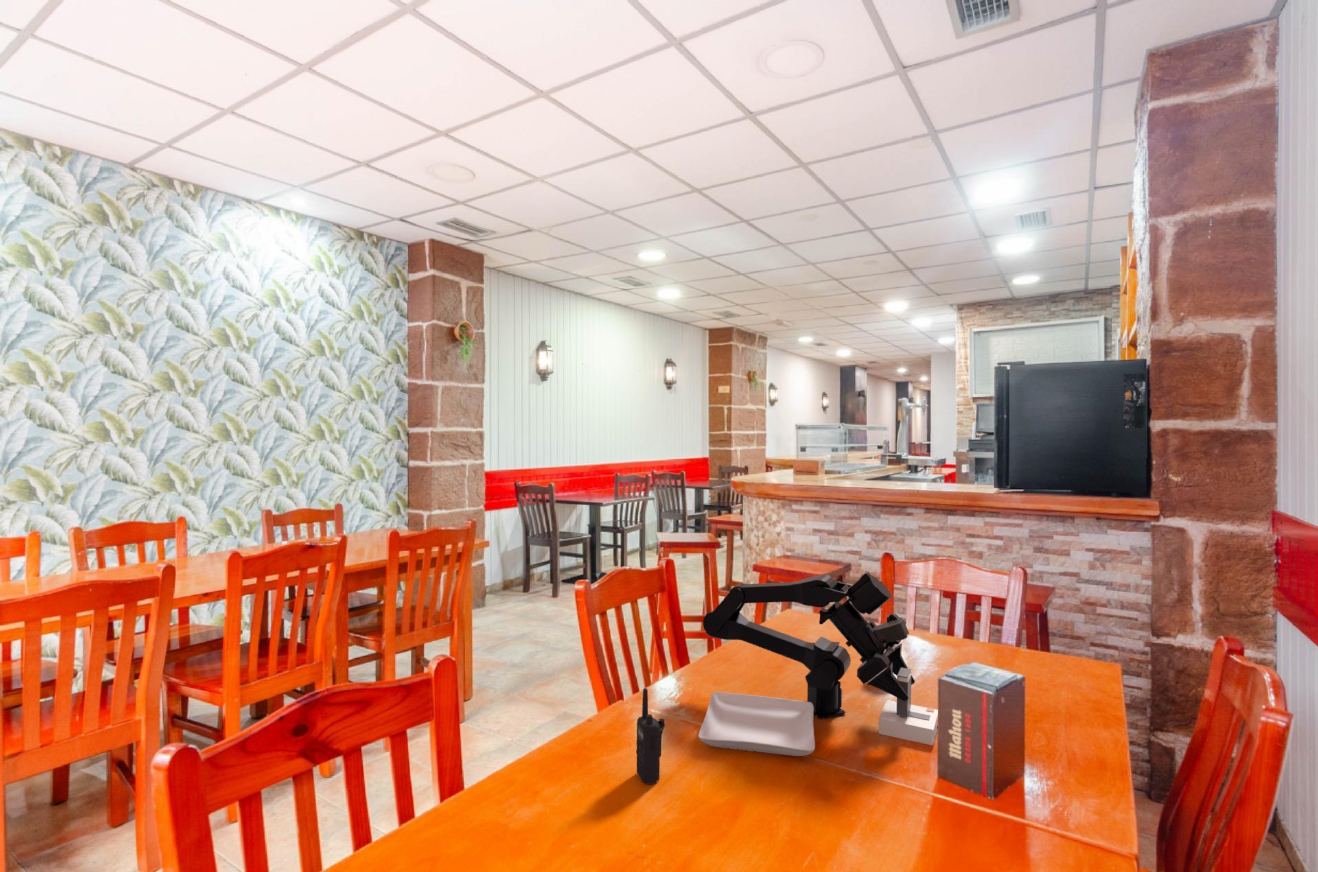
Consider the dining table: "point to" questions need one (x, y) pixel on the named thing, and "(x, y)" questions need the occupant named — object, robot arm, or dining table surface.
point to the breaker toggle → (905, 682)
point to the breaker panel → (909, 723)
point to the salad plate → (759, 724)
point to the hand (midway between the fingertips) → (910, 691)
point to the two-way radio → (648, 744)
